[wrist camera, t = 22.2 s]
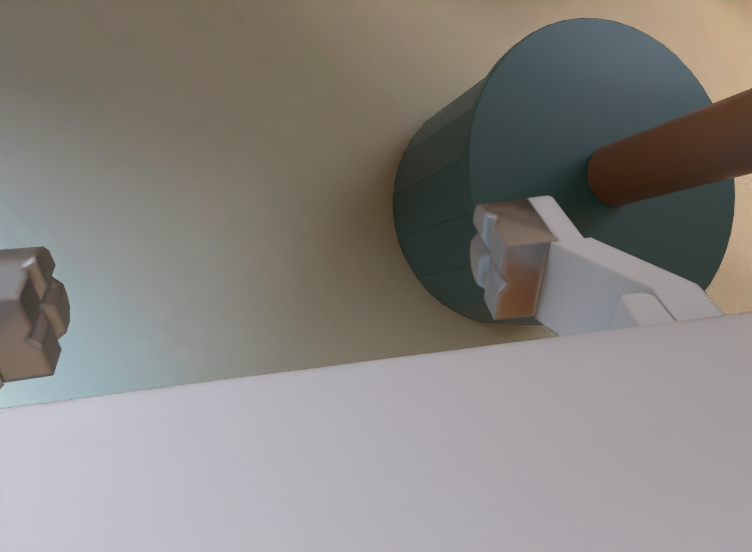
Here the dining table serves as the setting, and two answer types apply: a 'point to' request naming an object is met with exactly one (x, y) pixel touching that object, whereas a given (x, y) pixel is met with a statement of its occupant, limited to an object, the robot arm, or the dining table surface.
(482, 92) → the lid
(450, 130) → the pot
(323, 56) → the dining table surface
